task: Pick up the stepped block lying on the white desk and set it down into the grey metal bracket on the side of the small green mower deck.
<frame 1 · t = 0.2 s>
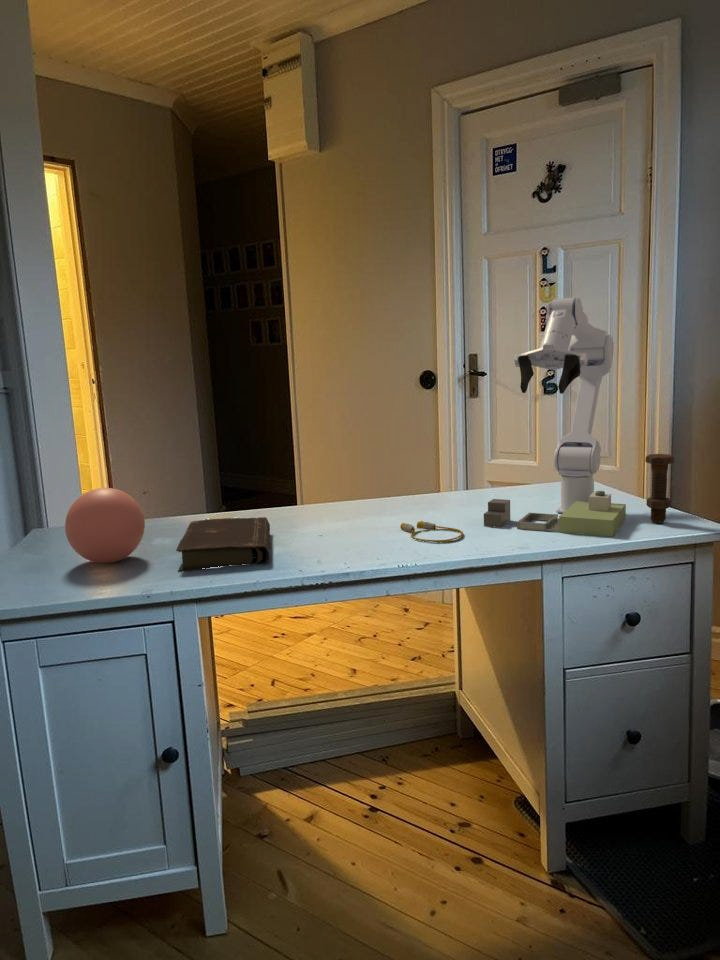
hand: (541, 389, 146), 31 cm above the table, tool tilted 45°, fingers open, 7 cm apart
bracket: (537, 524, 163), on the table
bolt: (657, 523, 160), on the table
diary: (226, 554, 154), on the table
extension cord: (433, 537, 160), on the table
stepped block: (497, 523, 167), on the table
deck: (593, 525, 160), on the table
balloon: (111, 559, 152), on the table
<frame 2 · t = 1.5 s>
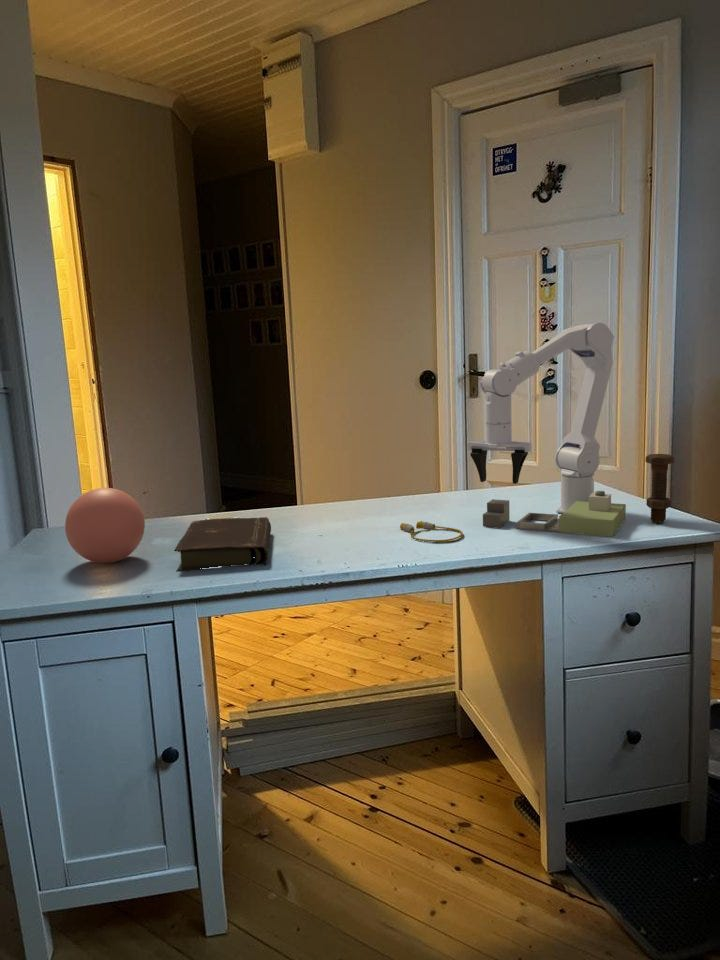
hand: (499, 482, 166), 9 cm above the table, tool pointing down, fingers open, 7 cm apart
nothing on the table moved.
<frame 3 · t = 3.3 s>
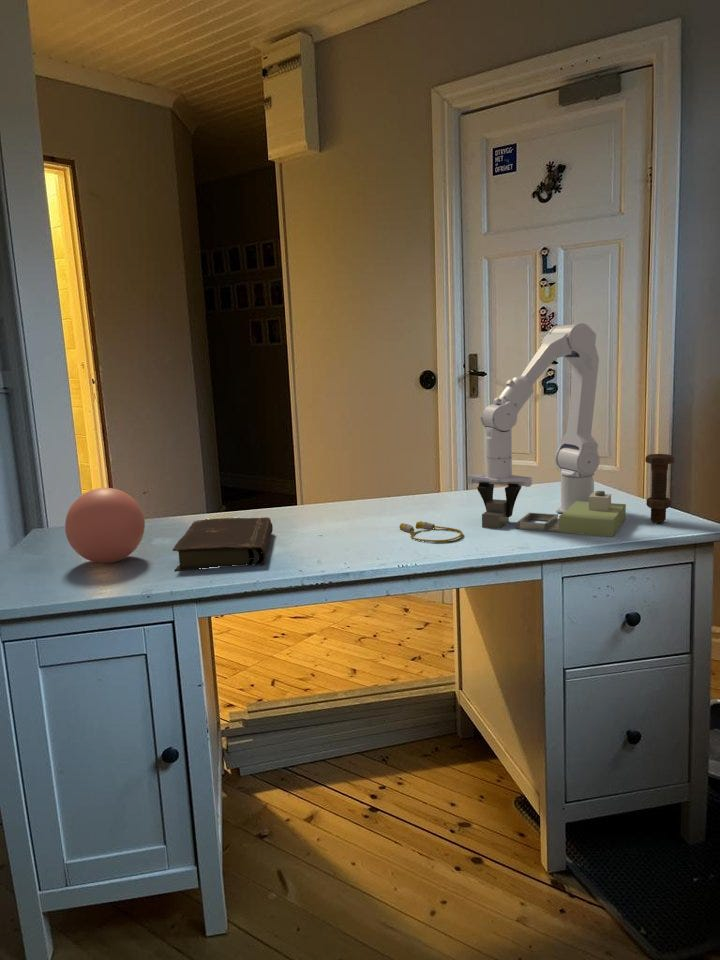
hand: (499, 515, 168), 1 cm above the table, tool pointing down, fingers closed on stepped block, 4 cm apart
stepped block: (495, 524, 166), on the table, touching gripper
everything else where it was.
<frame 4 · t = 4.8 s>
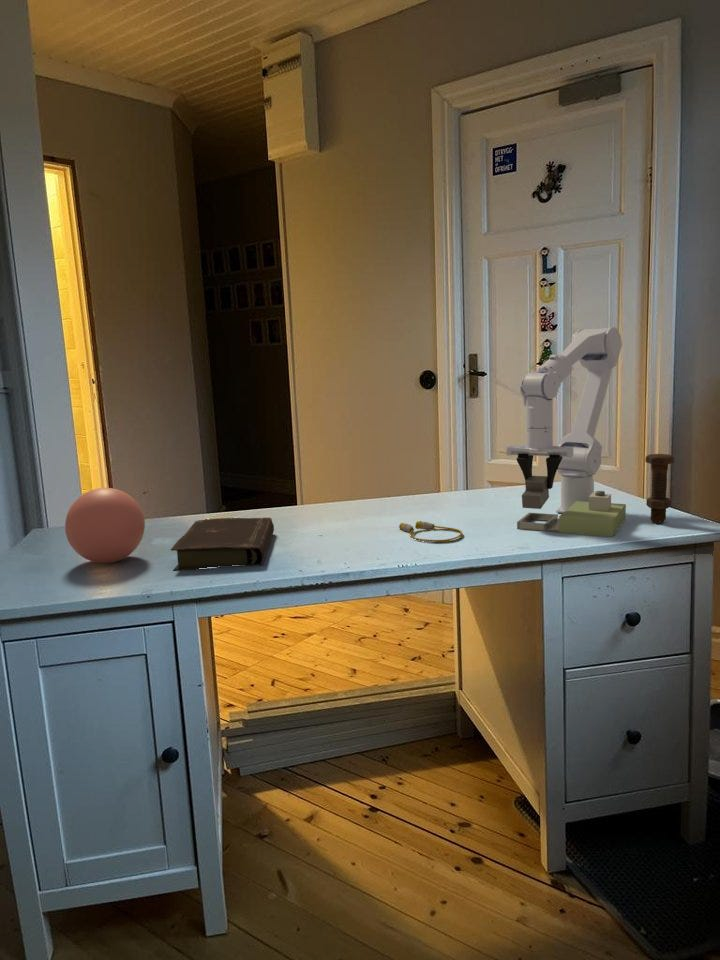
hand: (539, 487, 163), 8 cm above the table, tool pointing down, fingers closed on stepped block, 4 cm apart
stepped block: (535, 502, 161), point 5 cm above the table, tilted 10°, touching gripper
everything else where it was.
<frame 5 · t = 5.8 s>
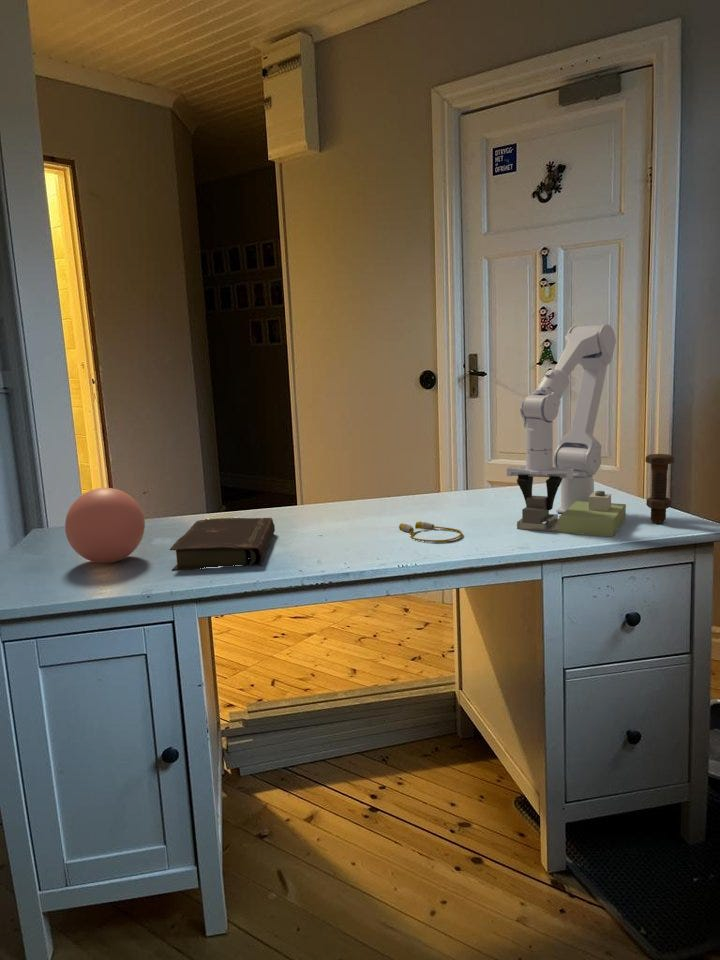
hand: (539, 508, 164), 3 cm above the table, tool pointing down, fingers closed on stepped block, 4 cm apart
stepped block: (535, 520, 162), point 1 cm above the table, touching bracket, gripper
everything else where it was.
when the fingers open (3 cm above the table, at t = 6.4 s): stepped block stays where it is, resting on bracket.
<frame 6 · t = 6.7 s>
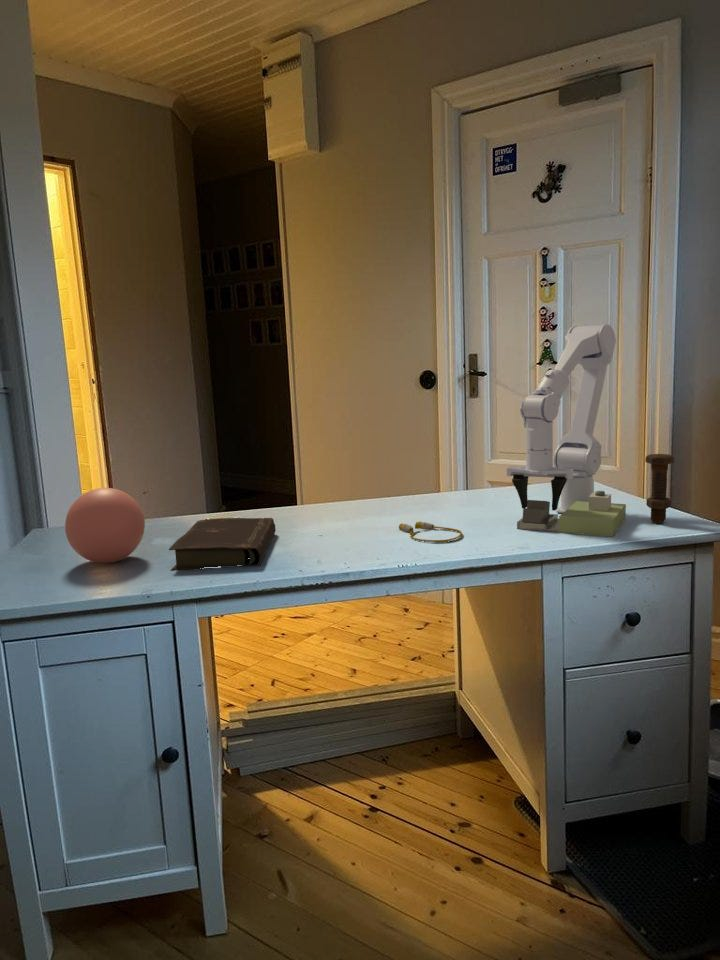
hand: (539, 508, 164), 3 cm above the table, tool pointing down, fingers open, 6 cm apart
stepped block: (535, 522, 162), point 1 cm above the table, tilted 15°, touching bracket
everything else where it was.
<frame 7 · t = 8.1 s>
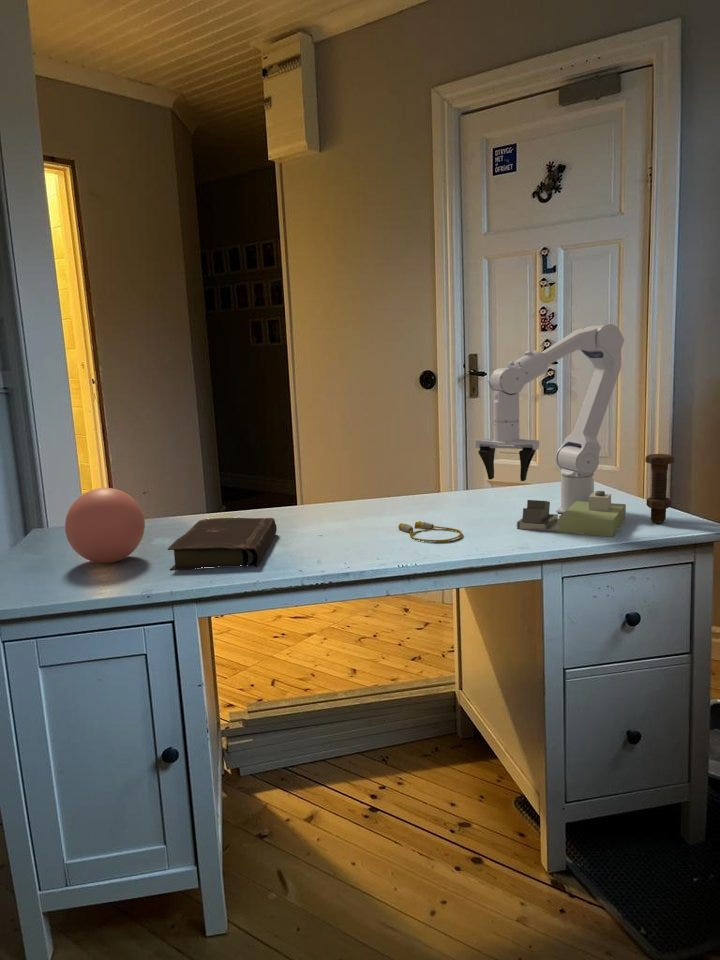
hand: (507, 479, 168), 9 cm above the table, tool pointing down, fingers open, 7 cm apart
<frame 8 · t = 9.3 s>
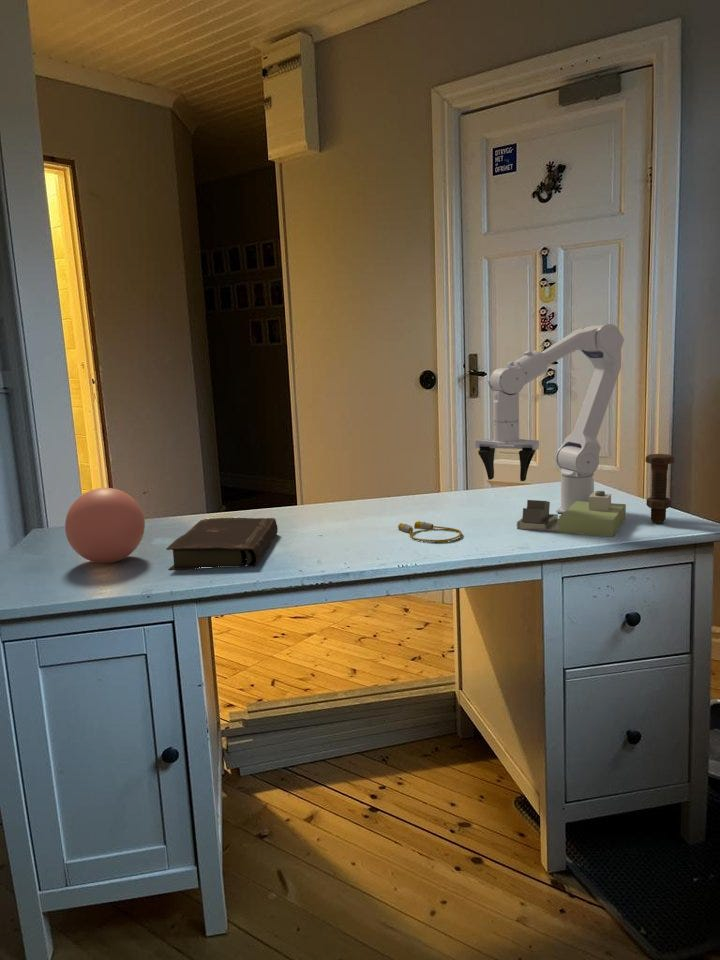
hand: (506, 479, 168), 9 cm above the table, tool pointing down, fingers open, 7 cm apart
at the end: stepped block 1.9 cm off-centre on the bracket, point 0.9 cm above the bracket's base; stepped block tilted 15°; the gripper is holding nothing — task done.
